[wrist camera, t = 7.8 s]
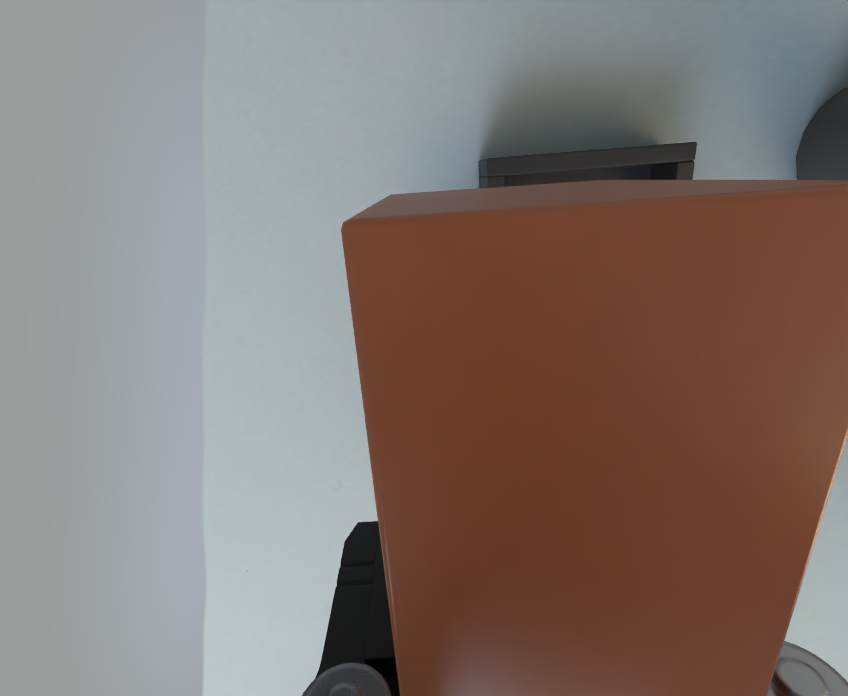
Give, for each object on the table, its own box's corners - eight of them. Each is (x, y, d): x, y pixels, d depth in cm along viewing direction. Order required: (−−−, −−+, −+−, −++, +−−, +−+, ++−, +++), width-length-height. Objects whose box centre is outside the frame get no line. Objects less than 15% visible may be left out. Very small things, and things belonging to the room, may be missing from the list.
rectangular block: (387, 194, 8) (338, 220, 3) (606, 179, 8) (931, 179, 3) (432, 698, 13) (442, 1035, 8) (568, 690, 13) (667, 1021, 8)
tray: (478, 160, 23) (487, 158, 20) (662, 146, 23) (698, 141, 20) (487, 473, 30) (494, 504, 27) (629, 463, 30) (651, 493, 27)
